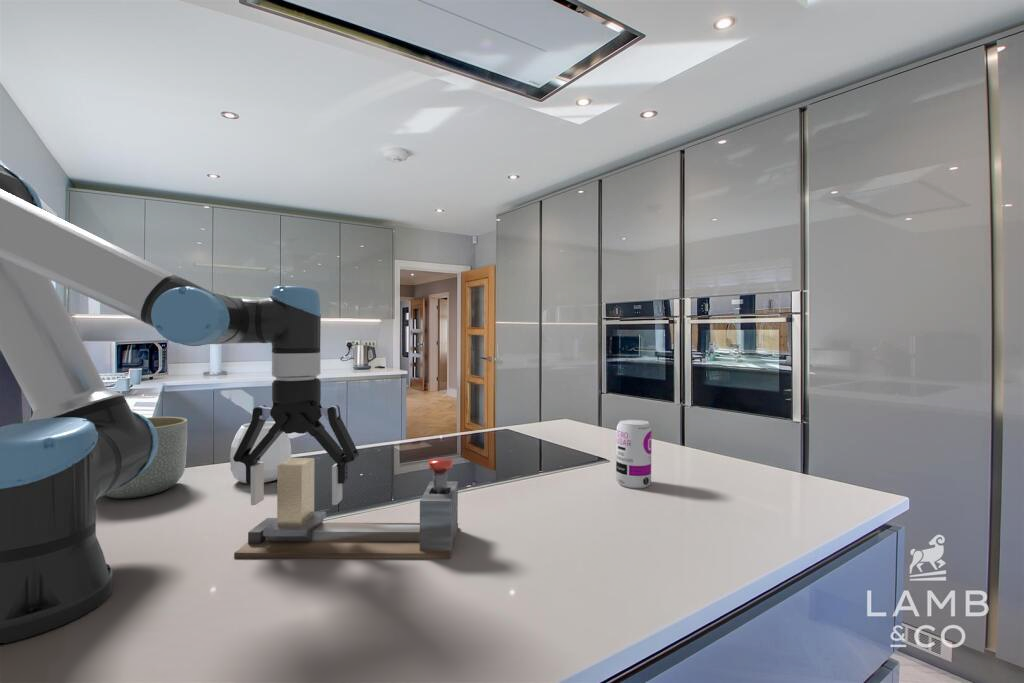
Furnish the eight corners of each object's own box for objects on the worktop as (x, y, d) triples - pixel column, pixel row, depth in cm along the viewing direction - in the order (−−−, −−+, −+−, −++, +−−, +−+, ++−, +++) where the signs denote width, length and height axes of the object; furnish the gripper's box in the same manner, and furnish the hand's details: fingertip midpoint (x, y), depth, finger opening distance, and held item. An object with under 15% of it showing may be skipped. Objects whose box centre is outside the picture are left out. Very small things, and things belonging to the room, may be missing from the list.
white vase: (282, 468, 122) (282, 417, 122) (298, 480, 112) (299, 425, 112) (224, 478, 113) (224, 423, 113) (236, 492, 103) (237, 432, 103)
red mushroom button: (450, 506, 77) (450, 463, 77) (426, 506, 77) (426, 463, 77) (453, 498, 81) (453, 457, 81) (430, 498, 81) (430, 457, 81)
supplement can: (654, 482, 113) (655, 421, 113) (645, 491, 106) (645, 426, 106) (622, 476, 117) (623, 417, 117) (611, 485, 110) (611, 422, 110)
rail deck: (449, 558, 73) (450, 503, 73) (234, 557, 73) (234, 502, 73) (458, 527, 85) (458, 479, 85) (272, 526, 85) (273, 478, 85)
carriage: (306, 545, 75) (306, 468, 75) (263, 545, 75) (263, 468, 75) (325, 525, 83) (326, 455, 83) (286, 525, 83) (287, 455, 83)
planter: (158, 476, 114) (158, 414, 114) (204, 485, 108) (204, 419, 108) (72, 498, 99) (72, 426, 99) (119, 509, 92) (119, 433, 92)
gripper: (376, 376, 82) (376, 494, 83) (236, 376, 82) (236, 494, 82) (363, 380, 75) (363, 510, 75) (208, 380, 75) (209, 510, 75)
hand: (297, 502), depth 79 cm, fingers open, 13 cm apart
